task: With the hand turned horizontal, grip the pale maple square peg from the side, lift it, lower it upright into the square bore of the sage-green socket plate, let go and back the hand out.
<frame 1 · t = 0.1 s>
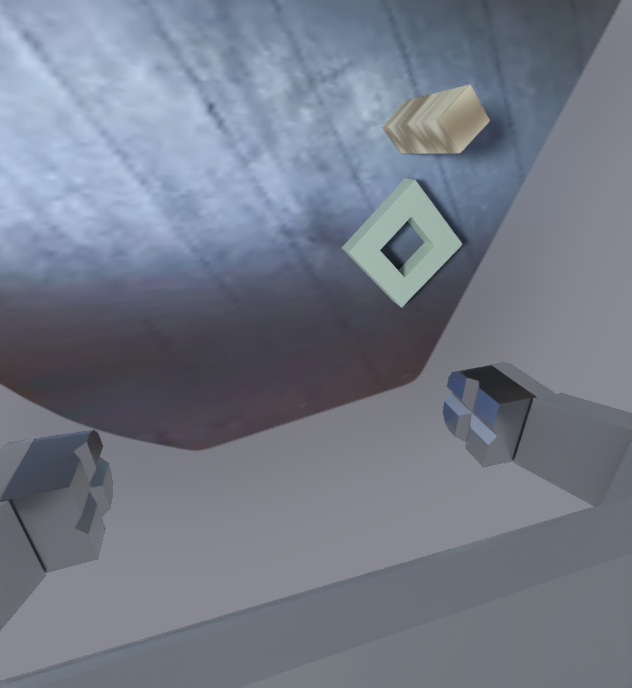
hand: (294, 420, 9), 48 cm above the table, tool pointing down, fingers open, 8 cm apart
socket plate: (398, 244, 60), on the table
peg: (402, 127, 53), on the table
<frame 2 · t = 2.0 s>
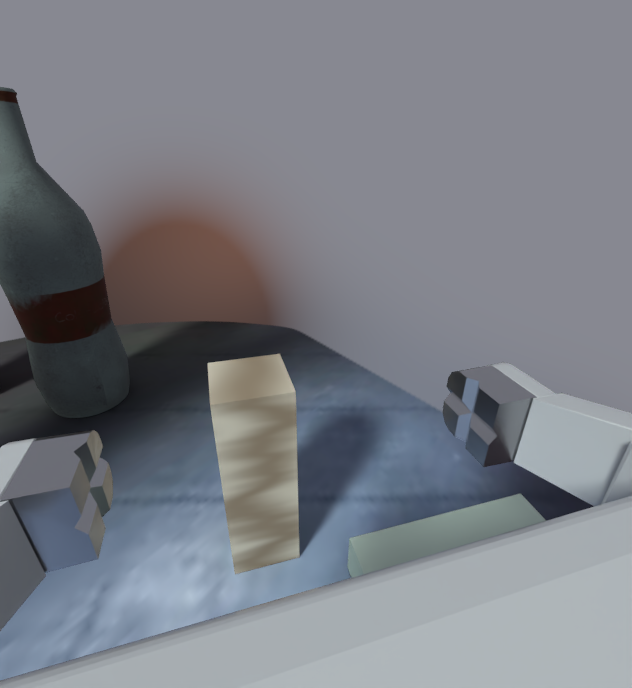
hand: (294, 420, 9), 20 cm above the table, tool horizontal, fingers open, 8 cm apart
bottle: (92, 398, 44), on the table
socket plate: (496, 644, 22), on the table
peg: (262, 537, 28), on the table
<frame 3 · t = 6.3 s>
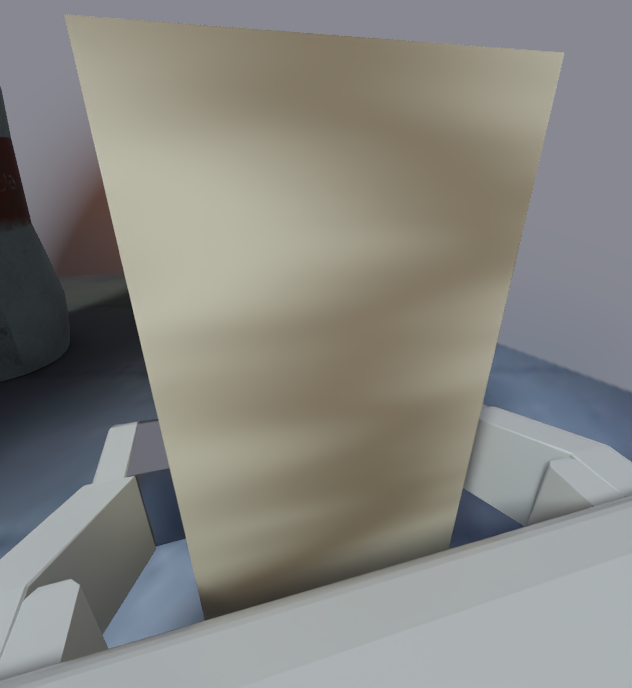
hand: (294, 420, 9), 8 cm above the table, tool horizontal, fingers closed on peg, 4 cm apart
bottle: (8, 358, 28), on the table
peg: (308, 639, 12), on the table, touching gripper
when the fingers open (8 cm above the table, at t = 12.8 s): peg stays where it is, resting in socket plate.
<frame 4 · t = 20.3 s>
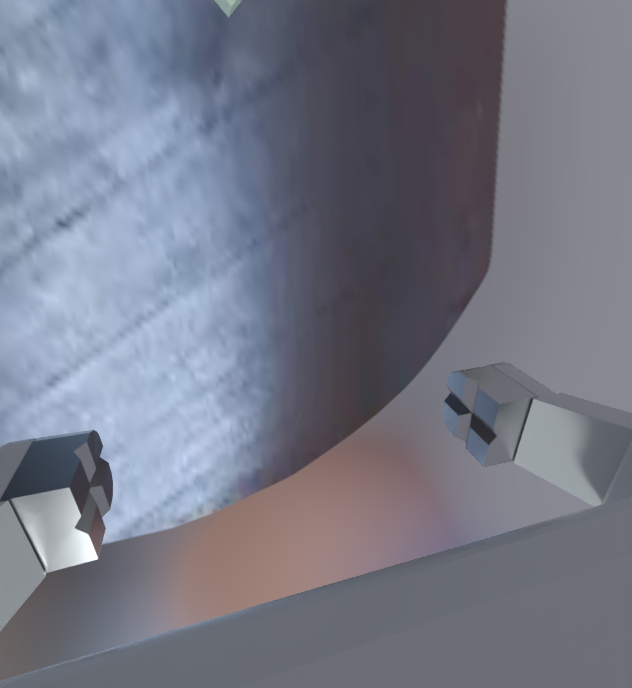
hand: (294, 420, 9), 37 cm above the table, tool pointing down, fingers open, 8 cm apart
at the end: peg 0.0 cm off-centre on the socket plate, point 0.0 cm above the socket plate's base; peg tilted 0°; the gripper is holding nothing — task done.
